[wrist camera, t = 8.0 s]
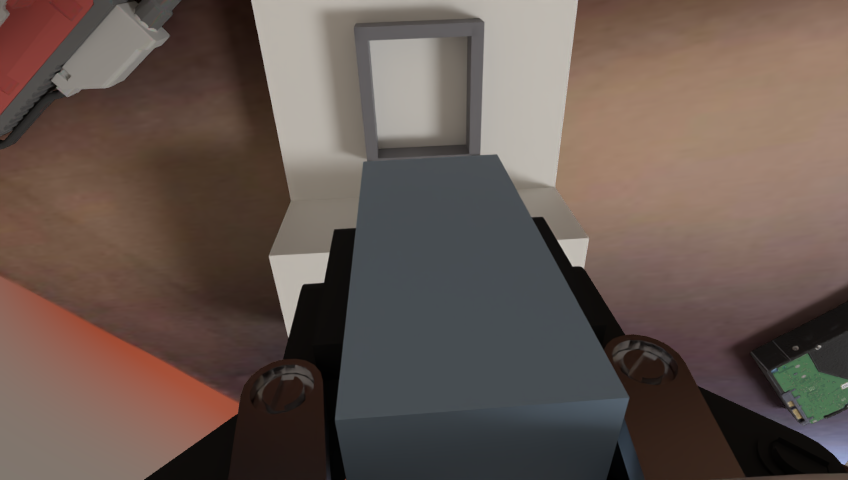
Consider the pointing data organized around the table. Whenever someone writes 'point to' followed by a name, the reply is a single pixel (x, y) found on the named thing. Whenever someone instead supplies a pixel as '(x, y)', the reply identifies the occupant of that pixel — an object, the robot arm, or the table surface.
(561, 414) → the plug
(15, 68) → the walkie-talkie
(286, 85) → the dock
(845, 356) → the disk drive
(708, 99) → the table surface
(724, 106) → the table surface
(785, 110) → the table surface
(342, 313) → the robot arm
